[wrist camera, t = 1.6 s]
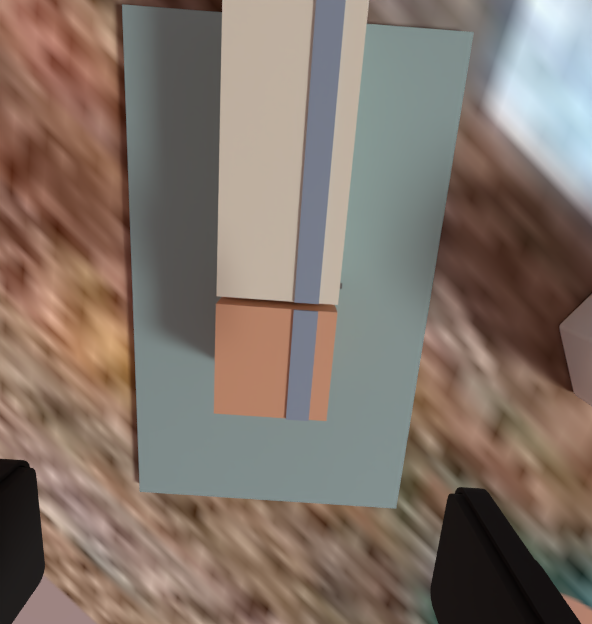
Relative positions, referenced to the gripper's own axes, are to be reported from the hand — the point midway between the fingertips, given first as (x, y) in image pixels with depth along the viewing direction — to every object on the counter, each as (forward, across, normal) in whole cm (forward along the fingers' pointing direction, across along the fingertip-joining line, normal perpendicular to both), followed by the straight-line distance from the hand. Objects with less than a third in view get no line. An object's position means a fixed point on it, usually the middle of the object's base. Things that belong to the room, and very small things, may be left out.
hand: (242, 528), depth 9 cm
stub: (+13, 0, -1) cm, 13 cm away
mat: (+14, 0, -3) cm, 14 cm away
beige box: (+13, 0, -10) cm, 16 cm away
